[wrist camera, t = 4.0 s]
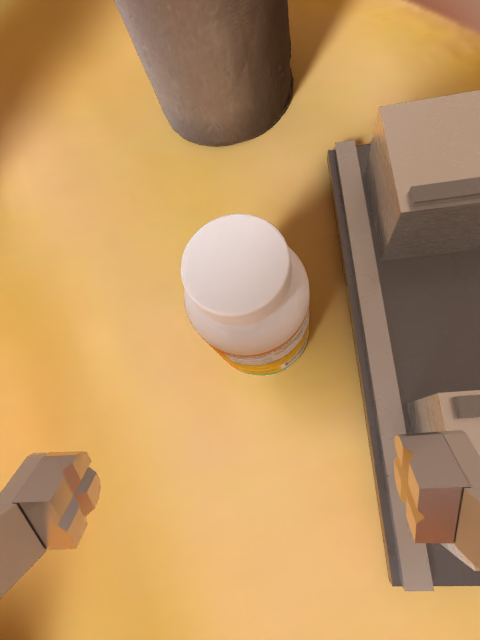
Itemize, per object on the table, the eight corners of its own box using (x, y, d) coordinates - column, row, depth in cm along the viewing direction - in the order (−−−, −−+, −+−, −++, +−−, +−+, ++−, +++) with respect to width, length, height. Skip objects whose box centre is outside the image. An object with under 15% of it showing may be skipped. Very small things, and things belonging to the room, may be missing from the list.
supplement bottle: (216, 293, 24) (162, 204, 15) (304, 285, 23) (303, 186, 14) (218, 380, 23) (158, 341, 13) (312, 374, 22) (318, 328, 13)
